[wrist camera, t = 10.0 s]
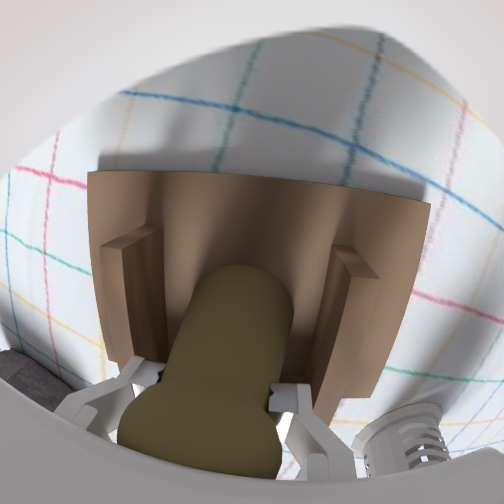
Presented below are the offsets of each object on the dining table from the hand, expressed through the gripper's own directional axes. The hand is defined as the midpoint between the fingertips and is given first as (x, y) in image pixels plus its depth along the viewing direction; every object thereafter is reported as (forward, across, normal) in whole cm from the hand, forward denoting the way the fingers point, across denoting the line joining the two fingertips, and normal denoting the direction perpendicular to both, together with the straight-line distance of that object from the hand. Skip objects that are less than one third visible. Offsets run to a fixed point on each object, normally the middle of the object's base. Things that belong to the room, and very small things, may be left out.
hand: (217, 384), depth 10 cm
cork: (+6, 0, 0) cm, 6 cm away
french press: (+7, -17, +14) cm, 23 cm away
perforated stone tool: (+7, +22, +14) cm, 27 cm away
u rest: (+7, 0, 0) cm, 7 cm away
